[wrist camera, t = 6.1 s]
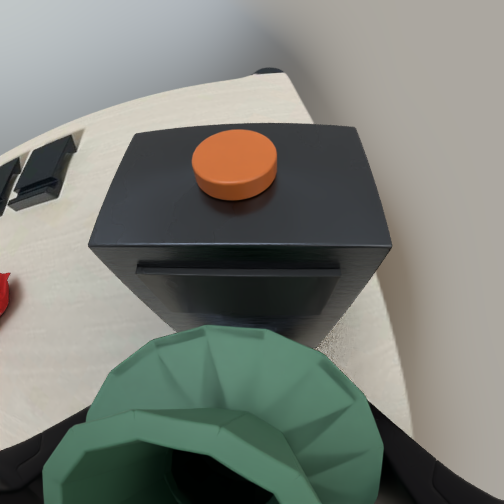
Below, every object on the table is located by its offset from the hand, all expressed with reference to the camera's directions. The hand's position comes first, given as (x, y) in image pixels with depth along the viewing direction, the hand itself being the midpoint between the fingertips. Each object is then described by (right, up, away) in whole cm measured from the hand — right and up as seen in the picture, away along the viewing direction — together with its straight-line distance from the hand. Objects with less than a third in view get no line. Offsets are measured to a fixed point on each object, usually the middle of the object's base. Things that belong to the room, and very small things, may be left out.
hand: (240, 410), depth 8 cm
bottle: (0, -5, +5) cm, 7 cm away
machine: (0, -3, +7) cm, 7 cm away
